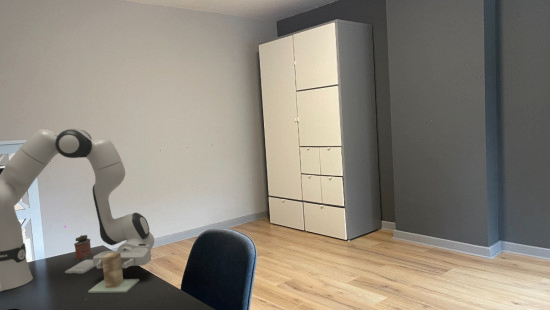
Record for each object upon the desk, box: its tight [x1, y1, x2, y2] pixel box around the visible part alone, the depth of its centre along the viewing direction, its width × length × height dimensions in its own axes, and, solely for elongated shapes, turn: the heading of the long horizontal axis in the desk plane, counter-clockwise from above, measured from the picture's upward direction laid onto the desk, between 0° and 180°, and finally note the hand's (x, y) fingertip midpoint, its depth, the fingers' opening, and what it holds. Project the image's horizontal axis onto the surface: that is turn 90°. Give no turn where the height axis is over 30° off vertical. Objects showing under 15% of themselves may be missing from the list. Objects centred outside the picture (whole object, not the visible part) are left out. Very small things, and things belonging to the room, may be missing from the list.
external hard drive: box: [64, 259, 96, 274], centre depth 171 cm, size 2×8×12 cm
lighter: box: [73, 234, 93, 262], centre depth 183 cm, size 8×3×10 cm, turn 162°
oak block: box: [102, 253, 124, 288], centre depth 148 cm, size 4×4×11 cm
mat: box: [87, 278, 140, 294], centre depth 148 cm, size 14×10×1 cm
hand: (111, 266), depth 147 cm, fingers open, 8 cm apart
